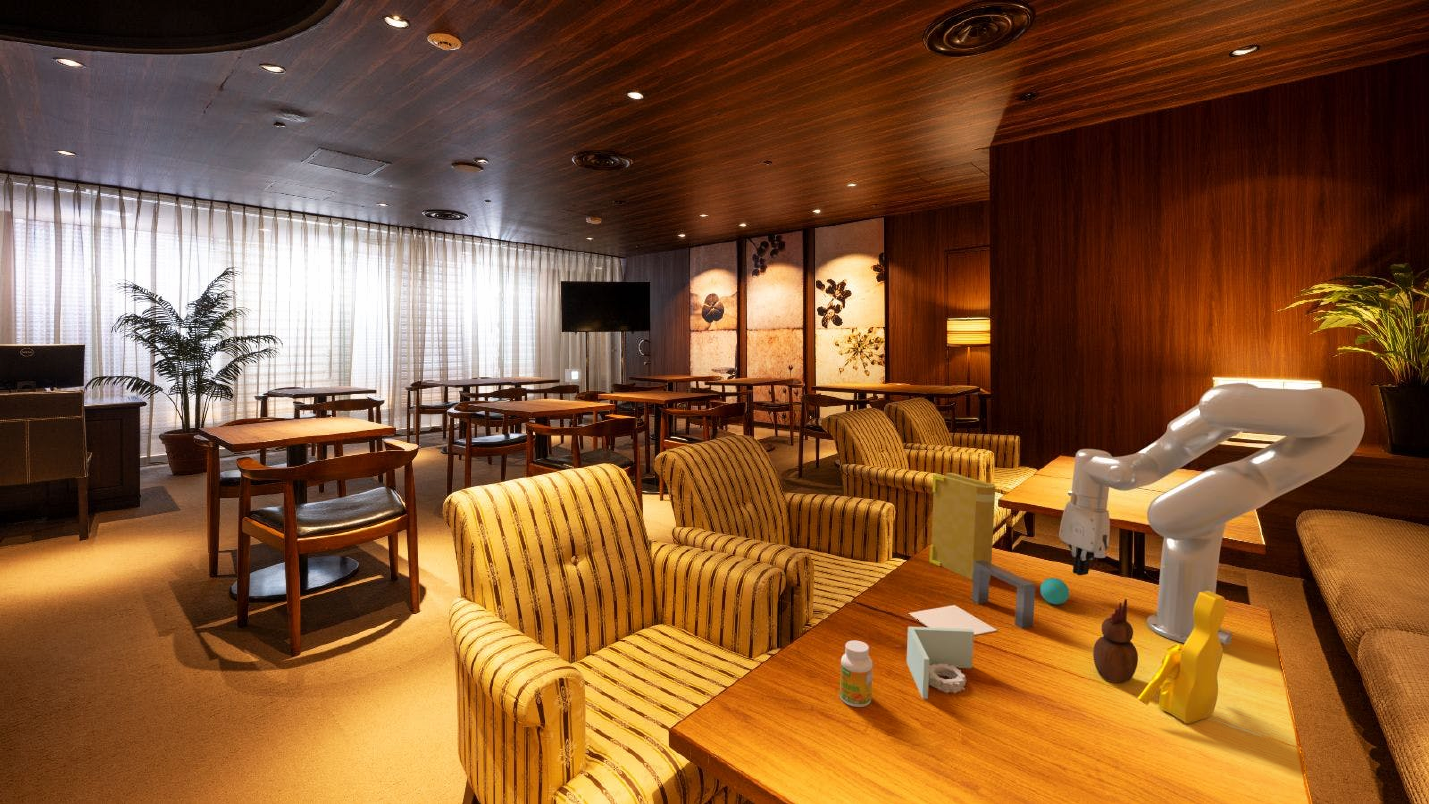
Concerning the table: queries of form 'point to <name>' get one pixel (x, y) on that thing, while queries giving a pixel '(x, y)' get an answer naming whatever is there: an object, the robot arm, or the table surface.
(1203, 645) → the figure statuette
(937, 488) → the book
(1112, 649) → the wooden figurine
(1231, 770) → the table surface
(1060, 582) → the ball
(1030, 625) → the bridge
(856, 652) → the supplement bottle
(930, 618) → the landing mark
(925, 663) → the l-shaped corner panel
